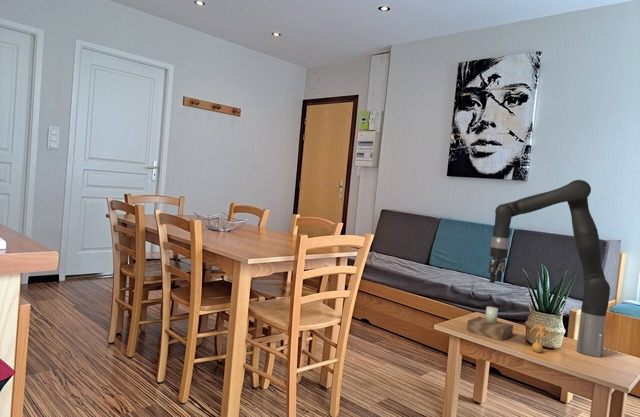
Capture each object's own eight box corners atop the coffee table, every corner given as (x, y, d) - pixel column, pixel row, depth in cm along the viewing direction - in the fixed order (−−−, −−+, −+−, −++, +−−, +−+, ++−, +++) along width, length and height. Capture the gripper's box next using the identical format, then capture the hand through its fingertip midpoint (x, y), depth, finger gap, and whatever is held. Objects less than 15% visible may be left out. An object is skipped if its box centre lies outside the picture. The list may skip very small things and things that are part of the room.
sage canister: (497, 323, 208) (499, 308, 208) (494, 324, 204) (495, 309, 204) (487, 320, 211) (488, 305, 211) (483, 322, 208) (485, 307, 208)
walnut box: (512, 335, 208) (513, 325, 208) (501, 340, 198) (503, 329, 197) (478, 326, 219) (479, 316, 218) (466, 331, 208) (467, 320, 208)
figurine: (524, 349, 188) (527, 321, 188) (530, 347, 192) (534, 319, 192) (545, 356, 182) (548, 326, 182) (551, 353, 186) (554, 325, 186)
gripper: (502, 248, 199) (498, 284, 200) (512, 248, 210) (508, 282, 211) (485, 246, 204) (481, 281, 205) (496, 245, 215) (492, 279, 215)
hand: (495, 282), depth 208 cm, fingers open, 8 cm apart
